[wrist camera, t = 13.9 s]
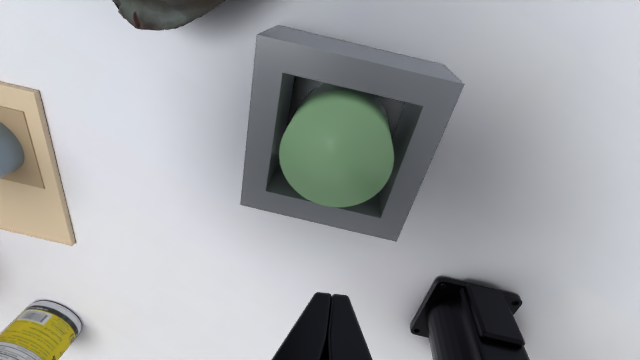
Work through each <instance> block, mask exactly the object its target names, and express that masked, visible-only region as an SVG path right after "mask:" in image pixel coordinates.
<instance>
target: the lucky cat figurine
mask: <svg viewBox="0 0 640 360" xmlns="http://www.w3.org/2000/svg"><path fill="white" fill-rule="evenodd" d="M112 1H113V2H114V3H115V5H116V6H117V8H118V9H119V11H118V12H119V13H120V14H121V15H122V16H123V18H125V19H127V20H128V22H129V23H130V24H131V25H133V26H134V27H135V28H137V29H142V30H164V29H166V30H168V29H176V28H178V27H180V26H184V25H185V24H187V23H189V22H191V21H193V20H194V19H196V18H198V17H201V16H202V15H204V14H206V13H208V12H209V11H211V10H212V9H214V8H215V7H217V6H218V5H219V4H221V3H222V2H223V1H225V0H112Z"/></svg>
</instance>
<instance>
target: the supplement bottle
mask: <svg viewBox="0 0 640 360" xmlns="http://www.w3.org/2000/svg"><path fill="white" fill-rule="evenodd" d="M80 331H81V323H80V320H79V319H78V317H77V316H76V315H75V314H74V313H72V312H71V311H70V310H68V309H67V308H65V307H63V306H61V305H59V304H56V303H53V302H48V301H38V302H34V303H32V304H30V305H29V306H28V307H27V308H26V309H25V310H24V311H23V312H22V313H21V314H20V315H19V316H18V317H17V318H15V319H14V320H13V321H12V322H11V323H10V324H9V325H8V326H7V327H6V328H5V329H4V330H3V331H2V332H1V333H0V360H58V359H59V358H60V357H61V356H62V354H63V353H64V352H65V351H66V349H67V348H68V347H69V346H70V344H71V343H72V342H73V341H74V340H75V338H76V337H77V336H78V334H79V333H80Z"/></svg>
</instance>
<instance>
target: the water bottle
mask: <svg viewBox="0 0 640 360" xmlns="http://www.w3.org/2000/svg"><path fill="white" fill-rule="evenodd" d="M23 162H24V152H23V148H22V146H21V144H20V142H19V140H18V139H17V138H16V136H15V135H14V134H13V133H12V131H11V130H10V129H9V128H7V127H6V126H5V125H4V124H3V123H1V122H0V178H2V177H4V176H6V175H8V174H10V173H12V172H14V171H16V170H17V169H19V168H20V167H21V166H22V165H23Z"/></svg>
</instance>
